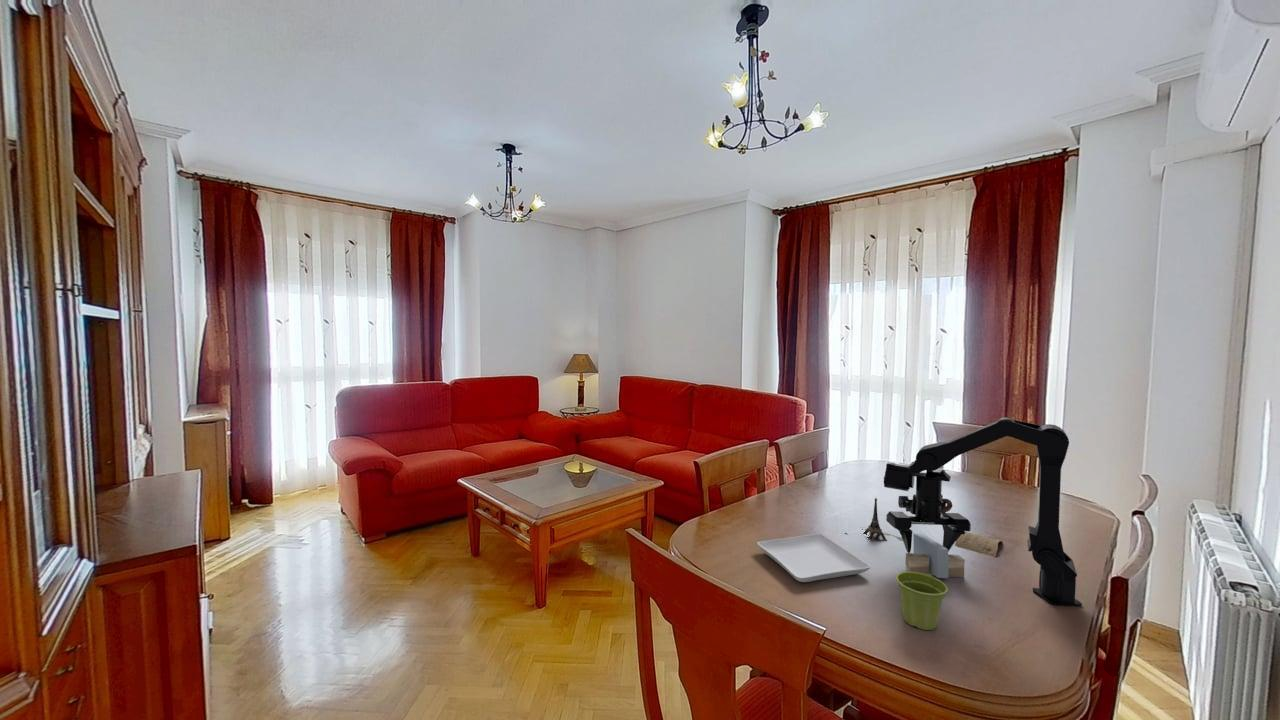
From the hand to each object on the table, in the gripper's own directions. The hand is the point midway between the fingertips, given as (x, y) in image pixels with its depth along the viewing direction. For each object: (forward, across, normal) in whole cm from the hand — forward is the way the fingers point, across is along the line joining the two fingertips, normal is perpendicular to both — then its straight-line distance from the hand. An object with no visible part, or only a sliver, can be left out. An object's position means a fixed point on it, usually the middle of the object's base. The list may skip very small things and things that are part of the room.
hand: (926, 552), depth 128 cm
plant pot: (+4, +14, +26) cm, 30 cm away
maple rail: (+4, 0, +4) cm, 5 cm away
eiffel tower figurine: (+4, +6, -18) cm, 19 cm away
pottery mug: (+4, -22, -40) cm, 46 cm away
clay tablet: (+4, -22, -15) cm, 27 cm away
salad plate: (+4, +30, +1) cm, 30 cm away
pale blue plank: (+3, 0, +2) cm, 4 cm away
